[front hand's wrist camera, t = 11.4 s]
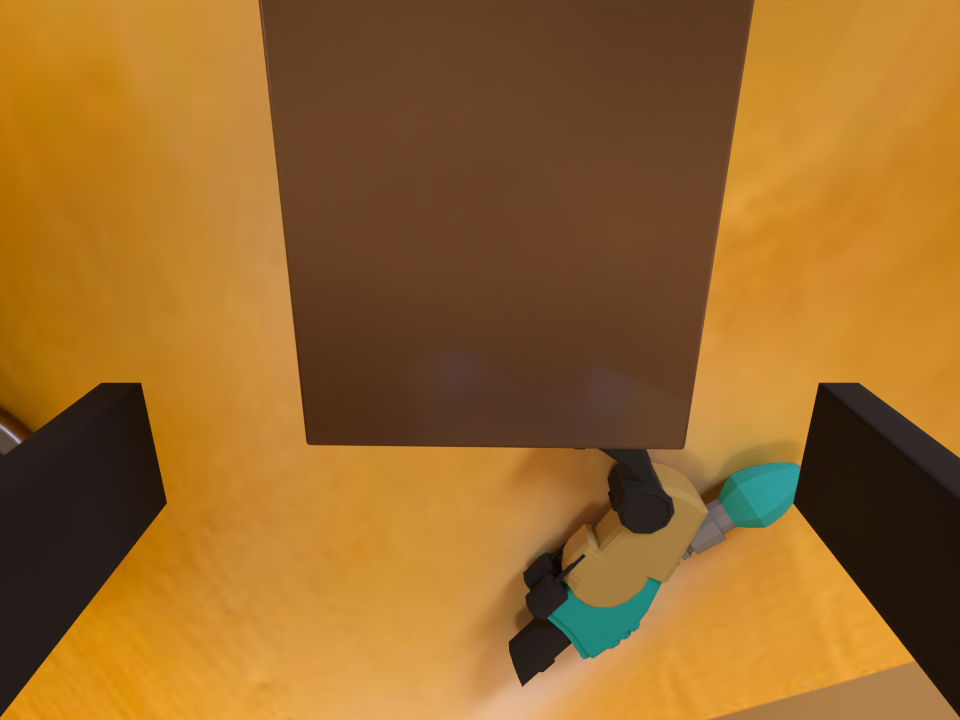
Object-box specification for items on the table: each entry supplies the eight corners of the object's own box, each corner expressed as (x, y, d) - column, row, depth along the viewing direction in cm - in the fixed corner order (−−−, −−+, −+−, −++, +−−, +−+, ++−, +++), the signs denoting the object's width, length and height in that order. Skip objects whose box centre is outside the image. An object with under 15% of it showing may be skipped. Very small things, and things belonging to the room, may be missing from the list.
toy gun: (391, 628, 44) (556, 728, 47) (660, 354, 36) (832, 496, 40) (399, 583, 48) (550, 677, 51) (641, 329, 41) (799, 459, 44)
